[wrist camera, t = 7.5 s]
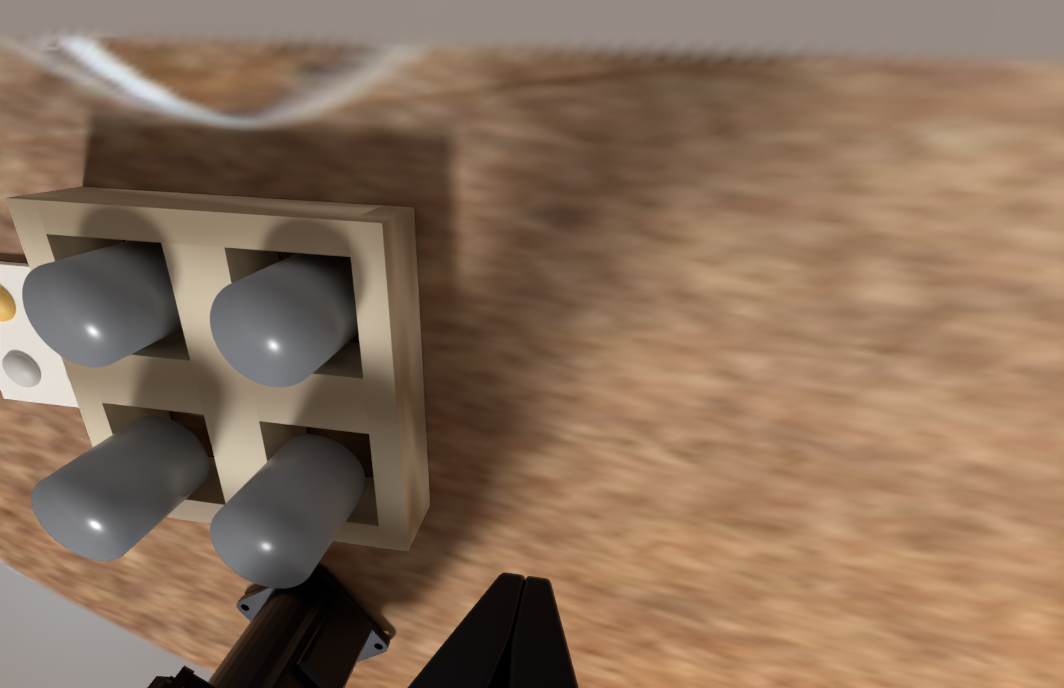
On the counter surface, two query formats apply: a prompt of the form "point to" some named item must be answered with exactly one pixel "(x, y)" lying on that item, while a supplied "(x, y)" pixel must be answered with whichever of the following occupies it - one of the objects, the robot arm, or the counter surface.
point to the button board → (221, 391)
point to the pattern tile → (27, 349)
